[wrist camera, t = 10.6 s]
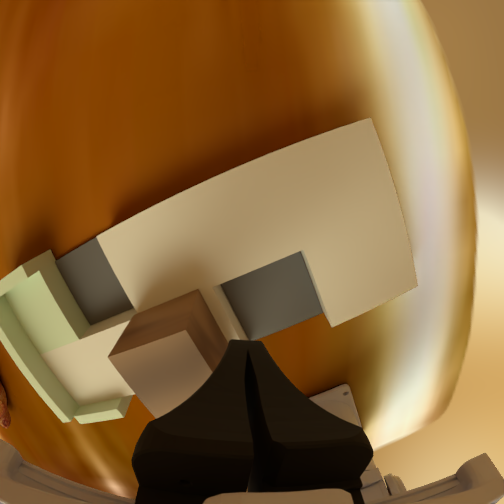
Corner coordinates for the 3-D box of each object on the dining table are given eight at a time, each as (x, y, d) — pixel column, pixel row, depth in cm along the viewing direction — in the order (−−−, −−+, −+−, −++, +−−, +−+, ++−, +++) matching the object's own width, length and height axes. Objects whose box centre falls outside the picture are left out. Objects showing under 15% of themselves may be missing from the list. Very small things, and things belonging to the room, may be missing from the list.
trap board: (404, 284, 22) (435, 309, 17) (86, 398, 24) (70, 429, 20) (350, 108, 18) (379, 95, 14) (8, 278, 20) (-23, 298, 16)
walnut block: (232, 349, 20) (231, 399, 15) (170, 370, 20) (156, 418, 15) (198, 288, 18) (185, 329, 14) (133, 314, 19) (107, 357, 14)
